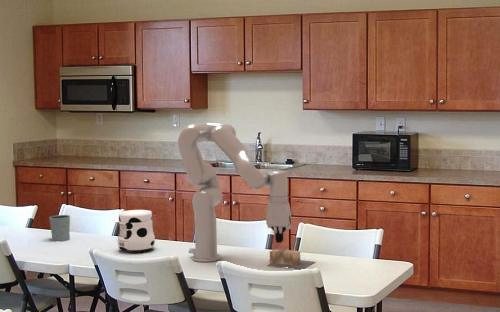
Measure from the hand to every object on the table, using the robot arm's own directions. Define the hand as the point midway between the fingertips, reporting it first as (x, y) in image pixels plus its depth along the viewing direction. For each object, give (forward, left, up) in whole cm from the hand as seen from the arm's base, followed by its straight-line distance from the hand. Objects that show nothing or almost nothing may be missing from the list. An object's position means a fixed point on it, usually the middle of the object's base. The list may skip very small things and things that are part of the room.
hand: (279, 242), depth 323 cm
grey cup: (-124, +2, -9) cm, 124 cm away
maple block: (-4, 0, -6) cm, 7 cm away
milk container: (-73, -3, -9) cm, 74 cm away
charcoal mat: (+5, 0, -9) cm, 11 cm away
